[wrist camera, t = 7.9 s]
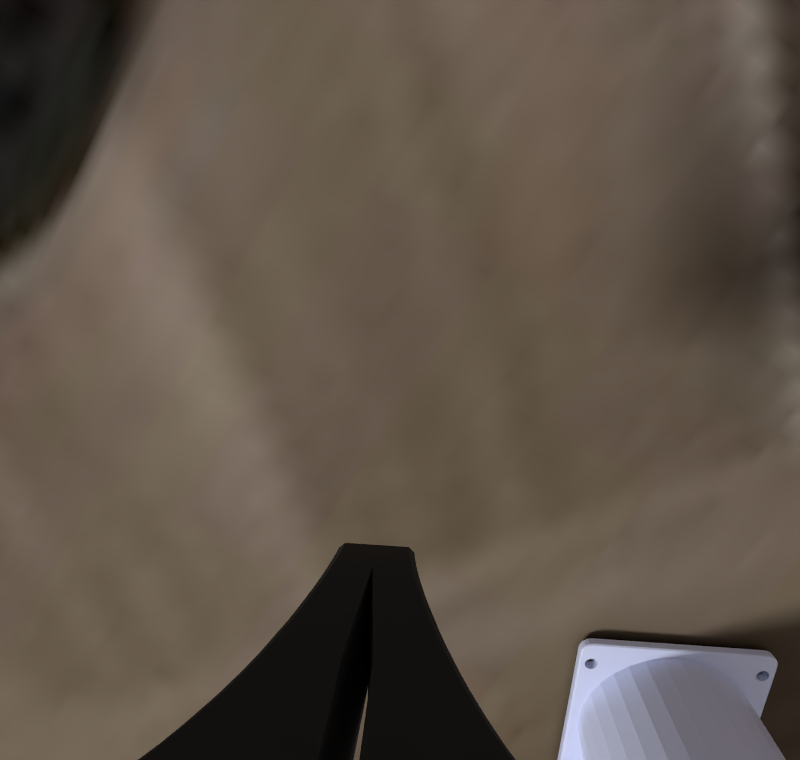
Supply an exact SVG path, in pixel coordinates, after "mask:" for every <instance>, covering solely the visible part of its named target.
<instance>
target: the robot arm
mask: <svg viewBox="0 0 800 760" xmlns="http://www.w3.org/2000/svg"><path fill="white" fill-rule="evenodd" d="M588 659H593V660H592V661H587V660H588ZM777 667H778V662H777V660H776V659H775V657H774V656H773V655H772V653H770V652H769V651H765V650H753V649H739V648H725V647H710V646H696V645H682V644H667V643H653V642H639V641H624V640H610V639H596V638H590V639H586V640H583V641H582V642H581V643H580V645H579V648H578V653H577V658H576V664H575V669H574V674H573V680H572V685H571V690H570V696H569V701H568V707H567V712H566V717H565V723H564V728H563V733H562V739H561V744H560V749H559V755H558V760H786V759H785V757H784V756H783V754H782V753H781V751H780V750H779V748H778V746H777V745H776V743H775V742H774V740H773V738H772V737H771V735H770V734H769V732H768V731H767V729H766V727H765V726H764V724H763V723H762V721H761V719H760V717H761V714H762V711H763V708H764V705H765V702H766V699H767V696H768V693H769V690H770V687H771V684H772V681H773V678H774V676H775V673H776V670H777ZM761 671H762V672H761ZM759 672H760V673H759ZM367 688H368V702H367V709H366V717H365V724H364V731H363V738H362V745H361V752H360V760H515V758H514V757H513V756H512V754H511V753H510V752H509V750H508V749H507V748H506V746H505V745H504V743H503V742H502V740H501V739H500V737H499V736H498V734H497V733H496V731H495V730H494V728H493V727H492V725H491V724H490V722H489V721H488V719H487V718H486V716H485V715H484V713H483V711H482V710H481V708H480V707H479V705H478V703H477V702H476V700H475V698H474V697H473V695H472V693H471V692H470V690H469V688H468V687H467V685H466V683H465V681H464V679H463V678H462V676H461V674H460V672H459V670H458V668H457V666H456V664H455V662H454V661H453V659H452V657H451V655H450V653H449V651H448V649H447V647H446V645H445V642H444V640H443V638H442V636H441V634H440V632H439V629H438V627H437V624H436V622H435V620H434V617H433V615H432V613H431V610H430V608H429V605H428V603H427V600H426V597H425V594H424V591H423V588H422V585H421V582H420V579H419V575H418V572H417V567H416V562H415V555H414V552H413V551H412V550H411V549H410V548H409V547H398V546H383V545H368V544H353V543H345V544H343V545H342V546H341V547H340V548H339V549H338V551H337V553H336V554H335V556H334V558H333V559H332V561H331V563H330V564H329V566H328V567H327V569H326V570H325V572H324V573H323V575H322V576H321V578H320V579H319V581H318V582H317V583H316V585H315V586H314V588H313V589H312V590H311V592H310V593H309V594H308V596H307V597H306V598H305V599H304V601H303V602H302V603H301V605H300V606H299V607H298V609H297V610H296V611H295V613H294V614H293V615H292V616H291V617H290V619H289V620H288V621H287V622H286V623H285V625H284V626H283V627H282V628H281V629H280V630H279V631H278V633H277V634H276V635H275V636H274V637H273V638H272V639H271V641H270V642H269V643H268V644H267V645H266V646H265V647H264V649H263V650H262V651H261V652H260V653H259V654H258V655H257V656H256V657H255V658H254V659H253V660H252V661H251V662H250V663H249V664H248V666H247V667H246V668H245V669H244V670H243V671H242V672H241V673H240V674H239V675H238V676H237V677H235V678H234V679H233V680H232V681H231V682H230V683H229V684H228V685H227V686H226V687H225V688H224V689H223V690H222V691H221V692H220V693H219V694H218V695H217V696H215V697H214V698H213V699H212V700H211V701H210V702H209V703H207V704H206V705H205V706H204V707H203V708H202V709H201V710H199V711H198V712H197V713H196V714H195V715H194V716H193V717H191V718H190V719H189V720H188V721H187V722H186V723H185V724H183V725H182V726H181V727H180V728H179V729H177V730H176V731H175V732H174V733H172V734H171V735H170V736H169V737H167V738H166V739H165V740H164V741H162V742H161V743H160V744H159V745H157V746H156V747H155V748H153V749H152V750H151V751H149V752H148V753H147V754H145V755H144V756H142V757H141V758H140V759H138V760H353V758H354V753H355V748H356V744H357V739H358V734H359V729H360V724H361V719H362V714H363V709H364V704H365V699H366V694H367Z"/></svg>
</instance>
